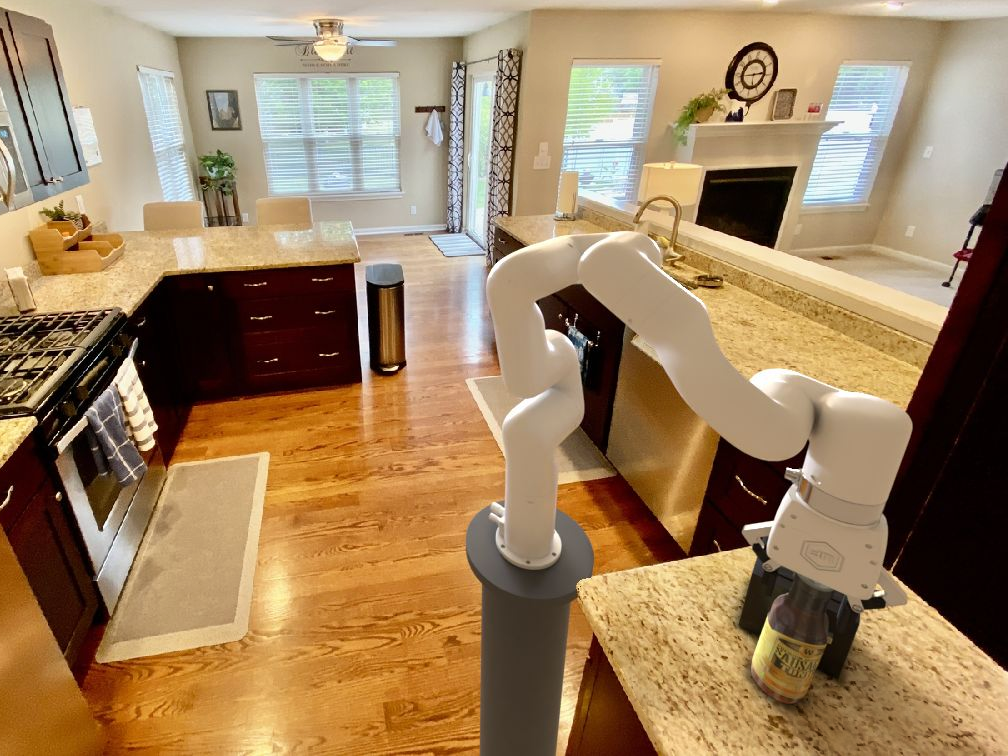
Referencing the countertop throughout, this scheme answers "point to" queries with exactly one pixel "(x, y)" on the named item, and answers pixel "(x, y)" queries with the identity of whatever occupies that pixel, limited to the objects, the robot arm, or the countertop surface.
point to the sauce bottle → (792, 640)
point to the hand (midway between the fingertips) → (803, 605)
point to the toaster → (761, 605)
